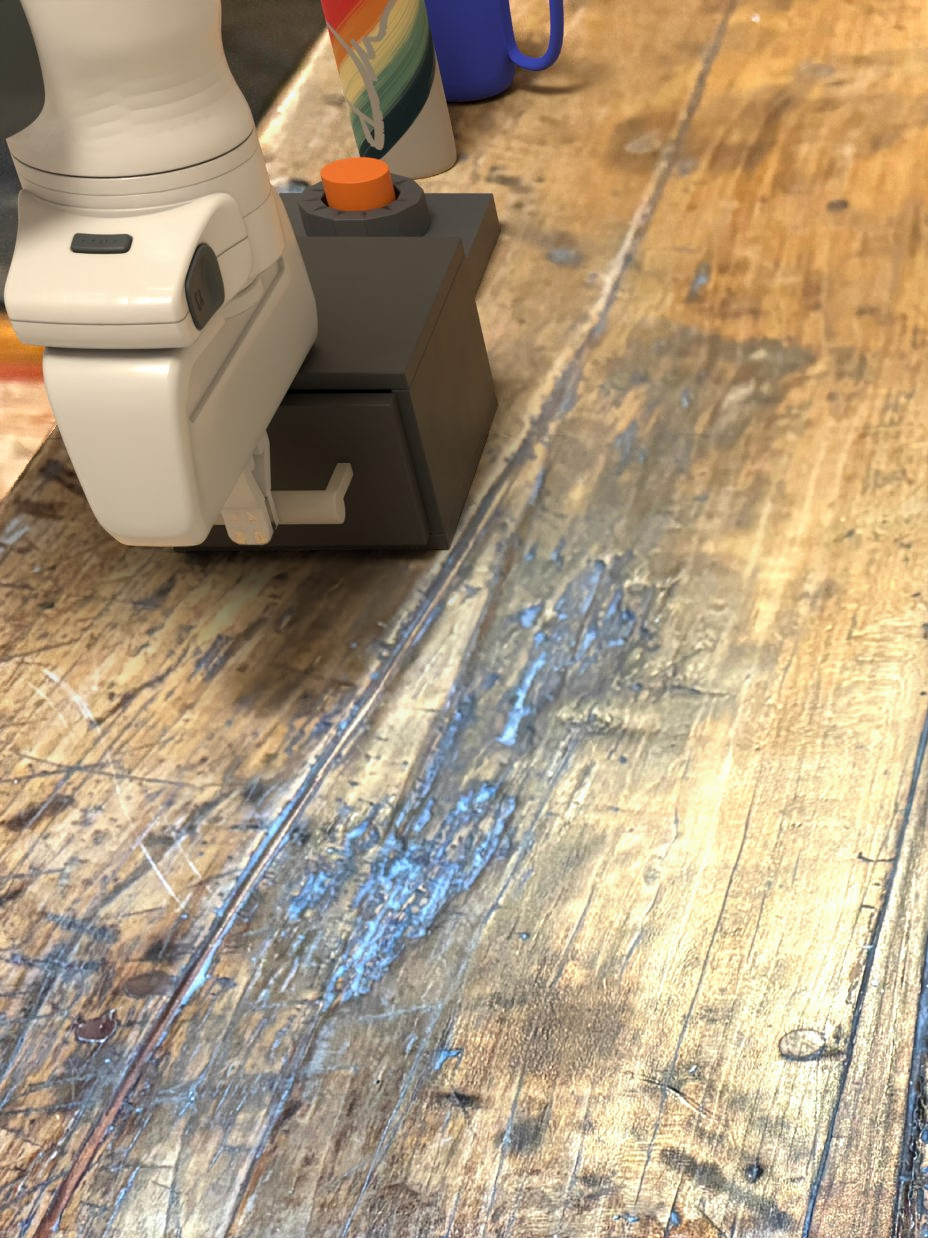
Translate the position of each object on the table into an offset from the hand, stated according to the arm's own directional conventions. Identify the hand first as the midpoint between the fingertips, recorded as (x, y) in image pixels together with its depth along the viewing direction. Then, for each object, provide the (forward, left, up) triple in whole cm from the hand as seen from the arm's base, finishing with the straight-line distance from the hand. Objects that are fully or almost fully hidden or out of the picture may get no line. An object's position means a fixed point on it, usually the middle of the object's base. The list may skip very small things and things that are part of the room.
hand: (256, 536), depth 97 cm
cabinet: (0, +13, -4) cm, 14 cm away
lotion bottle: (-4, +52, -4) cm, 53 cm away
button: (-3, +37, 0) cm, 37 cm away
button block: (-3, +37, -4) cm, 38 cm away
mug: (-1, +64, -4) cm, 64 cm away
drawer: (0, +9, -3) cm, 10 cm away
